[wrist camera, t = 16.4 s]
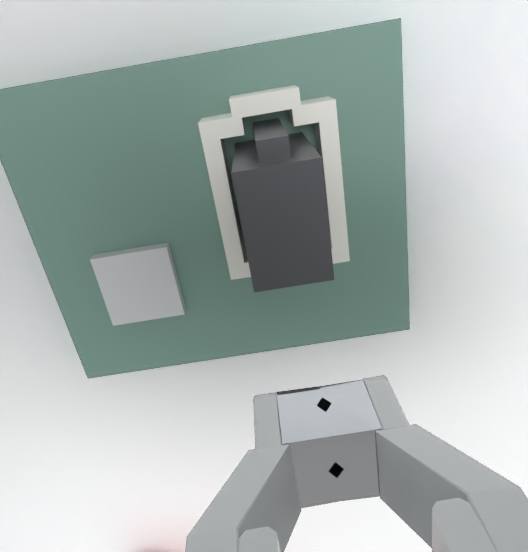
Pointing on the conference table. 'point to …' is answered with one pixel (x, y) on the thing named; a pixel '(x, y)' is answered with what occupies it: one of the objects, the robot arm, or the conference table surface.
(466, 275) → the conference table surface
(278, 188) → the plug
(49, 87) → the board
